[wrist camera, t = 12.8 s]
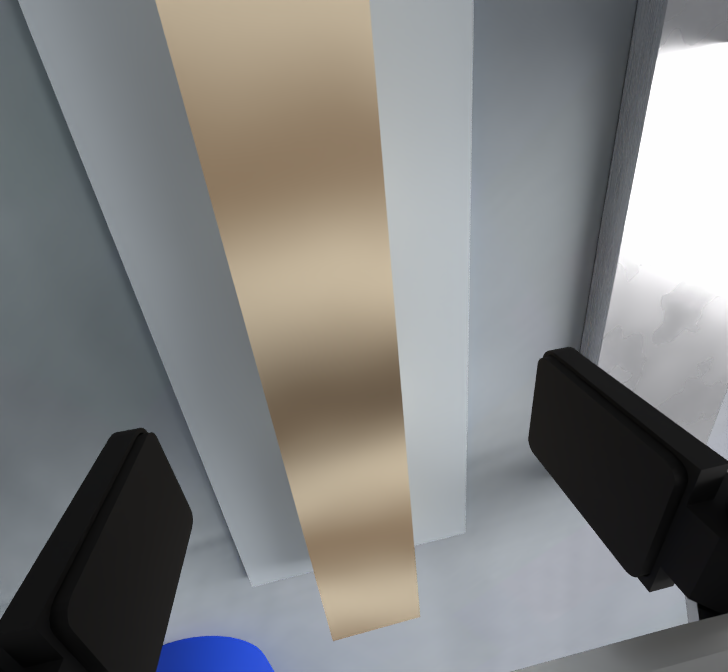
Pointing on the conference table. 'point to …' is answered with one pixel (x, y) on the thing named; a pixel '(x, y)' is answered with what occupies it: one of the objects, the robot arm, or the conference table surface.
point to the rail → (311, 272)
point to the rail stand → (668, 219)
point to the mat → (211, 269)
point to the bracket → (212, 656)
